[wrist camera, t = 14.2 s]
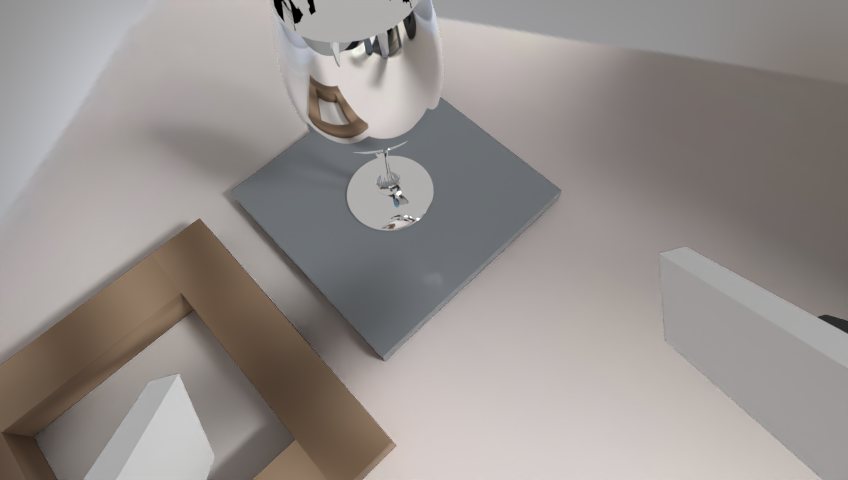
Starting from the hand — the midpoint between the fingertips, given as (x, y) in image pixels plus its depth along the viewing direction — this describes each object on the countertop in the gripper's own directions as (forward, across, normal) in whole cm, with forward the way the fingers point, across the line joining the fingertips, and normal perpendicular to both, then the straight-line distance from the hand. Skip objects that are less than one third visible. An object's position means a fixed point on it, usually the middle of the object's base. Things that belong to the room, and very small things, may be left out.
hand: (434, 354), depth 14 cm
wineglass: (+14, 0, +1) cm, 14 cm away
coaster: (+14, 0, +1) cm, 14 cm away
